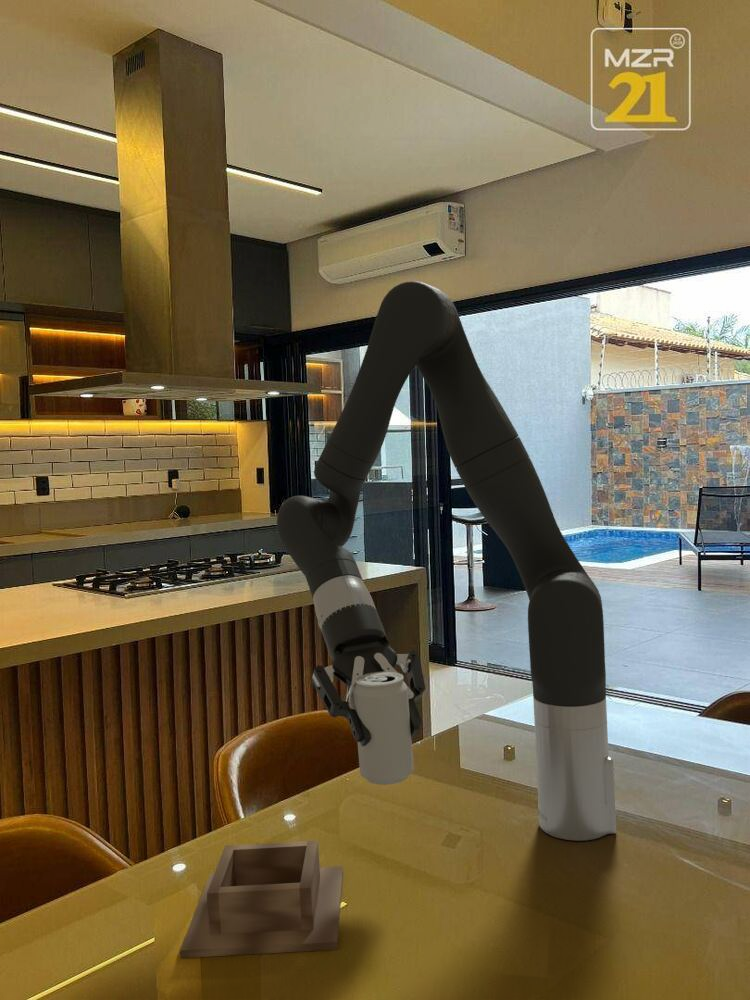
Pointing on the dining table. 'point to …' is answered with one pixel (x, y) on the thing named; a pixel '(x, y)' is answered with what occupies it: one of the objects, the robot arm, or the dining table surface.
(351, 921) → the dining table surface
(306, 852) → the well
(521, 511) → the robot arm
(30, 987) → the dining table surface
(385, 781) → the beverage can
